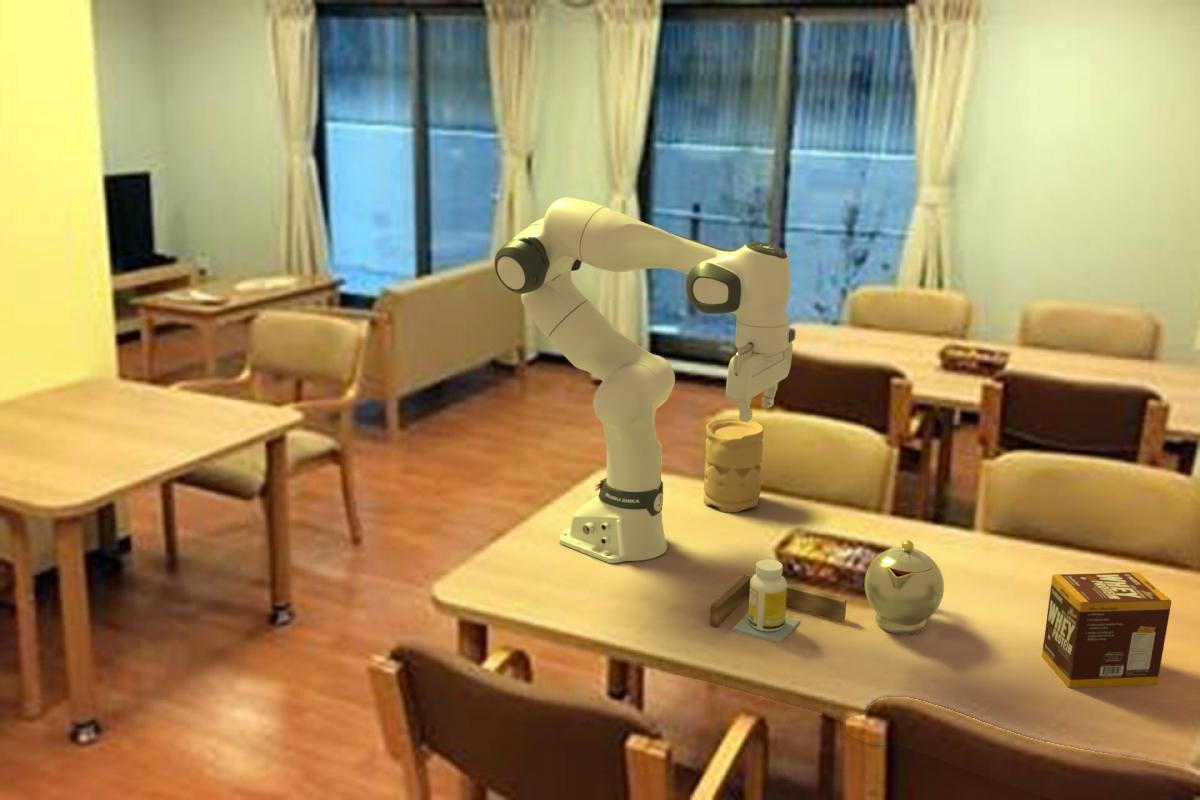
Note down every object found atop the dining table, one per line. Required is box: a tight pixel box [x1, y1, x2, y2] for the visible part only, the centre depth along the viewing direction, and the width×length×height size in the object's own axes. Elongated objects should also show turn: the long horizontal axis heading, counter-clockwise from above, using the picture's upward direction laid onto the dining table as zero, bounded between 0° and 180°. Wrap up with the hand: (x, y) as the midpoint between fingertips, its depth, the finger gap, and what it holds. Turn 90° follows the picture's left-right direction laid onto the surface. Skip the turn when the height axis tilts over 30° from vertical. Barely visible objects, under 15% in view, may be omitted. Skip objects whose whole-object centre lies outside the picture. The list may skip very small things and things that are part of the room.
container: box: [703, 417, 765, 514], centre depth 263 cm, size 13×13×18 cm
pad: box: [732, 612, 800, 645], centre depth 210 cm, size 9×9×1 cm
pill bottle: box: [748, 559, 788, 631], centre depth 209 cm, size 6×6×12 cm
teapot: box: [864, 539, 945, 635], centre depth 211 cm, size 18×14×16 cm
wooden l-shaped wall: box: [709, 574, 848, 629], centre depth 212 cm, size 20×15×4 cm
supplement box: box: [1041, 571, 1172, 689], centre depth 195 cm, size 10×15×16 cm
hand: (756, 413), depth 209 cm, fingers open, 8 cm apart
